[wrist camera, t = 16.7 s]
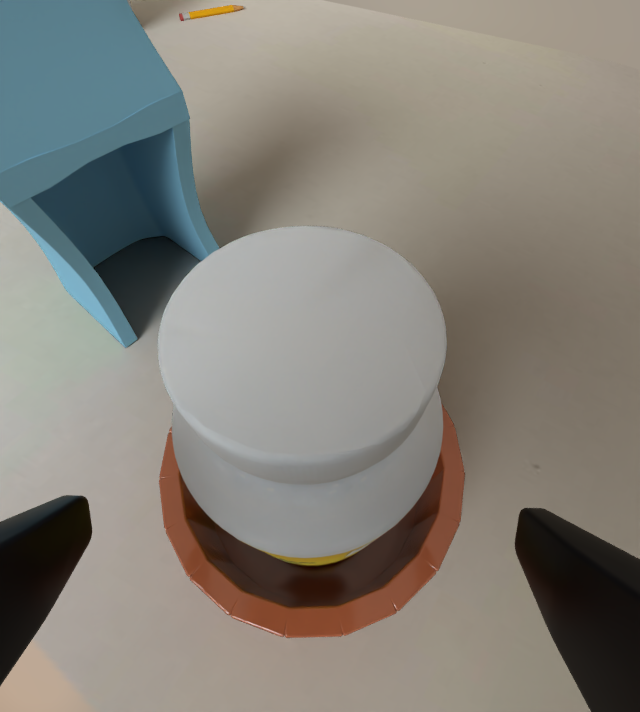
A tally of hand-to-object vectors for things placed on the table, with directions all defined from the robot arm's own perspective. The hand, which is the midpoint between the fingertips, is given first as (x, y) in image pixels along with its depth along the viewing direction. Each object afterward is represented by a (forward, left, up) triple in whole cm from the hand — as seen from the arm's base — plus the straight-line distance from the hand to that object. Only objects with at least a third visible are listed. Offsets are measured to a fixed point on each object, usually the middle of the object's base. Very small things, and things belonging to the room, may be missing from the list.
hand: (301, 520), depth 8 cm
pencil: (+54, +30, -9) cm, 62 cm away
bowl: (+3, +1, -9) cm, 9 cm away
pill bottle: (+2, +1, -8) cm, 9 cm away
